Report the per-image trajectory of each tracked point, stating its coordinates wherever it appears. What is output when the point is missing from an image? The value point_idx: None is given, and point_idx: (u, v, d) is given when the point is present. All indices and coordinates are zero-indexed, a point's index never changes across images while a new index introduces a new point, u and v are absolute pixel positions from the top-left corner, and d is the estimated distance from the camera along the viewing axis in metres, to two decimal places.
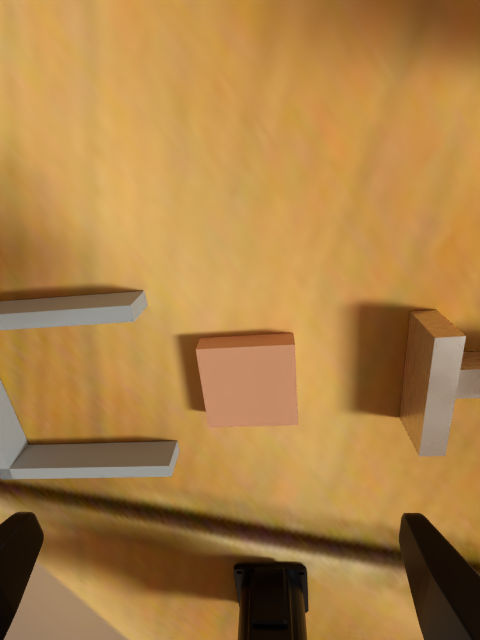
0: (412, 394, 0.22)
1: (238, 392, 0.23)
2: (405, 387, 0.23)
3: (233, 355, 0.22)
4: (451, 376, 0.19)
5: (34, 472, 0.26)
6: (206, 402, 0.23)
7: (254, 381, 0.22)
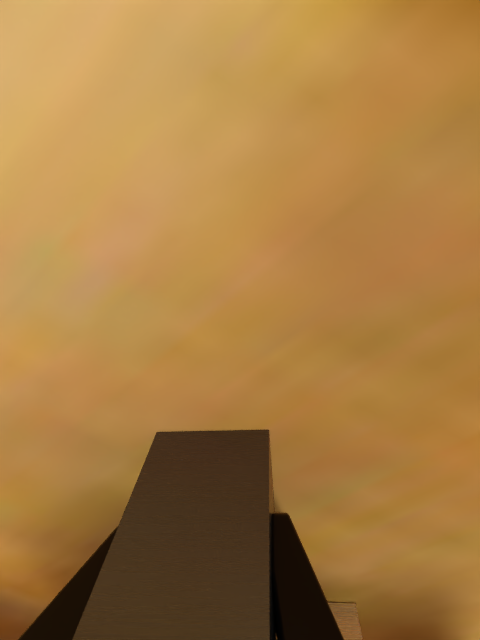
0: None
1: None
2: None
3: None
4: None
5: None
6: None
7: None
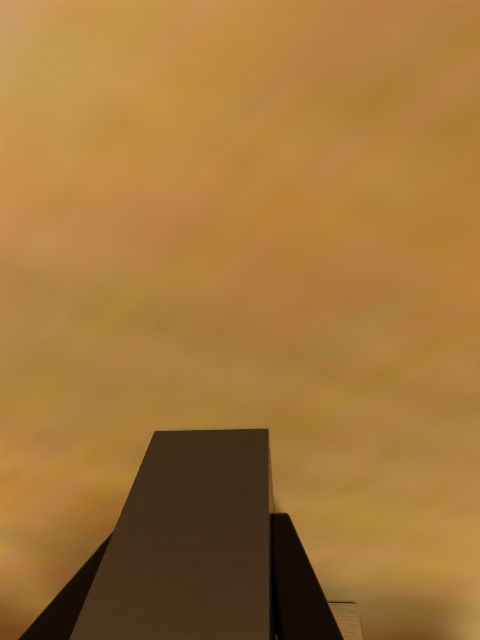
0: None
1: None
2: None
3: None
4: None
5: None
6: None
7: None
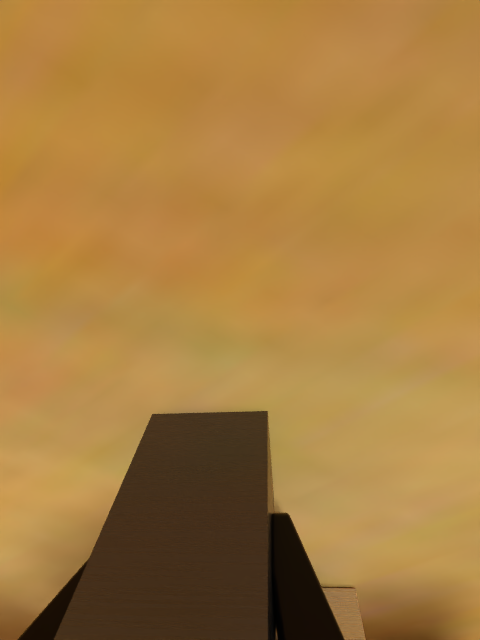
0: None
1: None
2: None
3: None
4: None
5: None
6: None
7: None
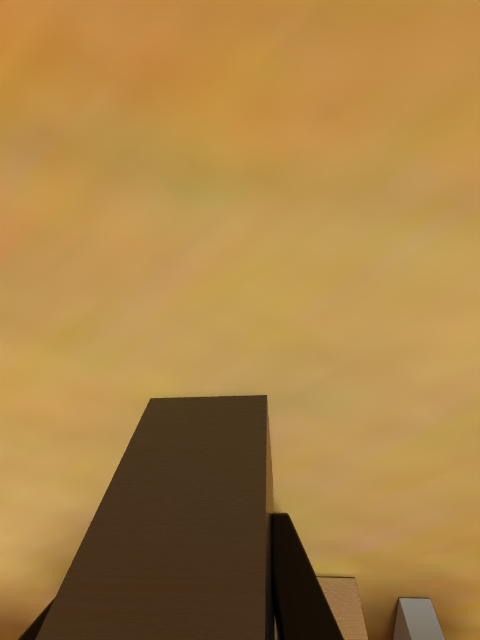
0: None
1: None
2: None
3: None
4: None
5: None
6: None
7: None
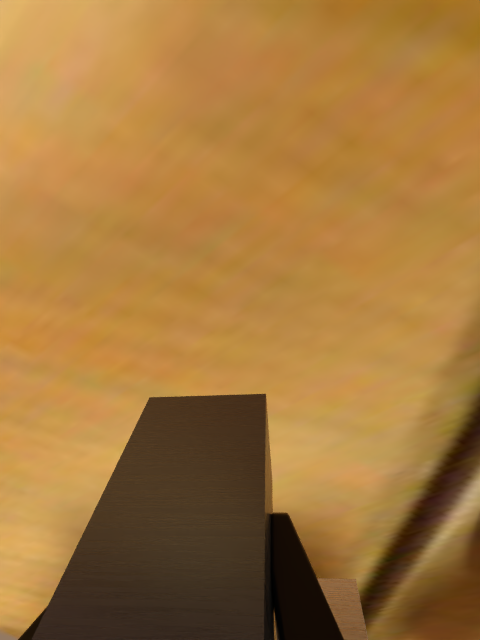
0: None
1: None
2: None
3: None
4: None
5: None
6: None
7: None
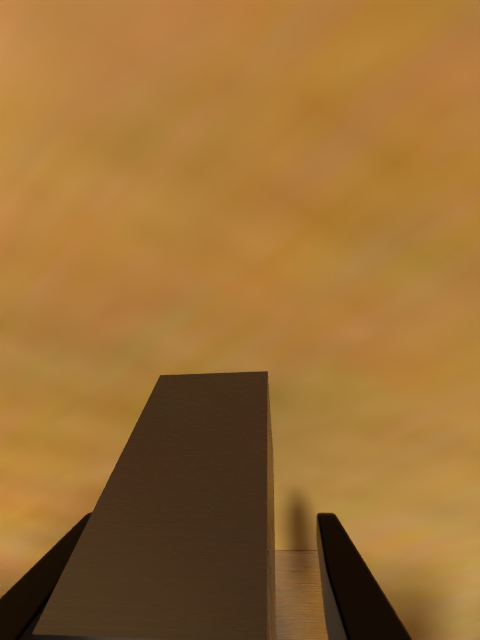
0: None
1: None
2: None
3: None
4: None
5: None
6: None
7: None
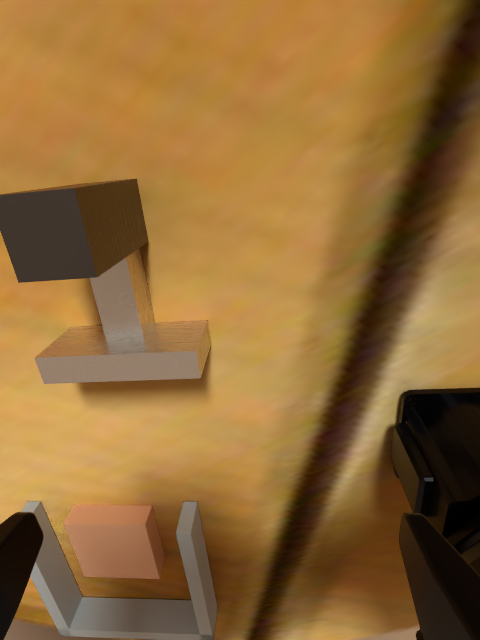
0: None
1: (118, 558, 0.27)
2: None
3: (83, 557, 0.27)
4: (83, 362, 0.17)
5: (201, 621, 0.28)
6: (133, 577, 0.27)
7: (105, 548, 0.26)
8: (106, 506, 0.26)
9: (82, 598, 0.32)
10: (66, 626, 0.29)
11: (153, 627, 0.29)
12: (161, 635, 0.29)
